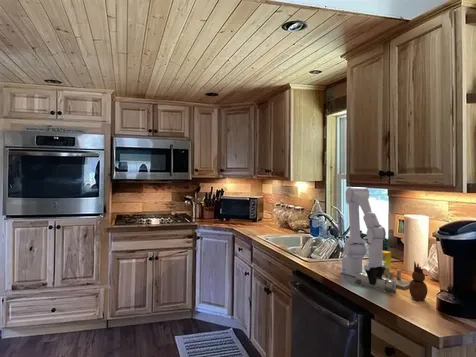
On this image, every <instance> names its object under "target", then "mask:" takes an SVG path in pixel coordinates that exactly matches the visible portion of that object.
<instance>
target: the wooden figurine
mask: <svg viewBox="0 0 476 357" xmlns="http://www.w3.org/2000/svg"><path fill="white" fill-rule="evenodd" d="M411 278H412V279H411V280H410V281H411V282H410V284H409V288H408V289H409V290H408V291H409V294H410V297H411V298H412V299H414V300H416V301H421V302H422V301H425V299H426V297H427V296H428V286H427V283H425V282H424V281H426V275H425V273H424V270H423V268H422V266H419V263H417V264H416V261H414V262H413V271H412V272H411Z"/></svg>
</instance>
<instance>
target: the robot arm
mask: <svg viewBox="0 0 476 357" xmlns="http://www.w3.org/2000/svg"><path fill="white" fill-rule="evenodd" d="M369 197H370V190H369V189H368V187H365V186H364V187H355V186H354V187H352V186H348V187H346V190H345V203H346V204H347V205H348V221H349V225H348V226H349V237H348V238H346V239H345V240H344V246H343V252H344V254H345V255H343V256H342V259H341V271H340V273H341V274H343V275H348V276H352V277H355V272H363V269H364V271H365V273H366V274H367V276H368V279H369V284H371V285H375V280H376V276H378V277H382V275H383V273H384V271H385V269H386V268H385V267H384V266H386V261H382V250H383V245H384V244H383V243H384V241H383V240H385V239H386V236H387V232H386V229H385V227H384V226H382V224H380V222H379V220H378V217H377V214H376V213H374V212H372V207H371V205H370V201H369V199H370V198H369ZM360 209H361V210H362V213H363V217H362V219H363V221H364V223H365V226H366V237H367V242H368V250H367V245H366V241H365V240H364V239H363V238H362V237H361V226H360ZM367 251H368V262H367V263H365V264H364V265H363V259H364V257H365V256H366V255H367Z"/></svg>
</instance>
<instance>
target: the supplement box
mask: <svg viewBox="0 0 476 357" xmlns="http://www.w3.org/2000/svg"><path fill="white" fill-rule="evenodd" d="M382 261H386V266H384V267H389V272H391V267H392V266H391V265H392V252H391V251H388V250H383V249H382ZM383 274H384V275H385V271H384V273H383Z"/></svg>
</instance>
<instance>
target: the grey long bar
mask: <svg viewBox="0 0 476 357" xmlns="http://www.w3.org/2000/svg"><path fill="white" fill-rule="evenodd" d="M354 277H355V278H354V279H355V280H354V281H355V282H354V283H356V284H358V285H363V286H366V287H369V288H371V289H376V290H380V291H383V292H385V293H389V294H396V293H397V287H396V281H394V280H390V279H386V278H382V277H378V276H376V280H375V285H371V284H369V279H368V276H367V273H366V272H363V271H362V272H355V276H354Z"/></svg>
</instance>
